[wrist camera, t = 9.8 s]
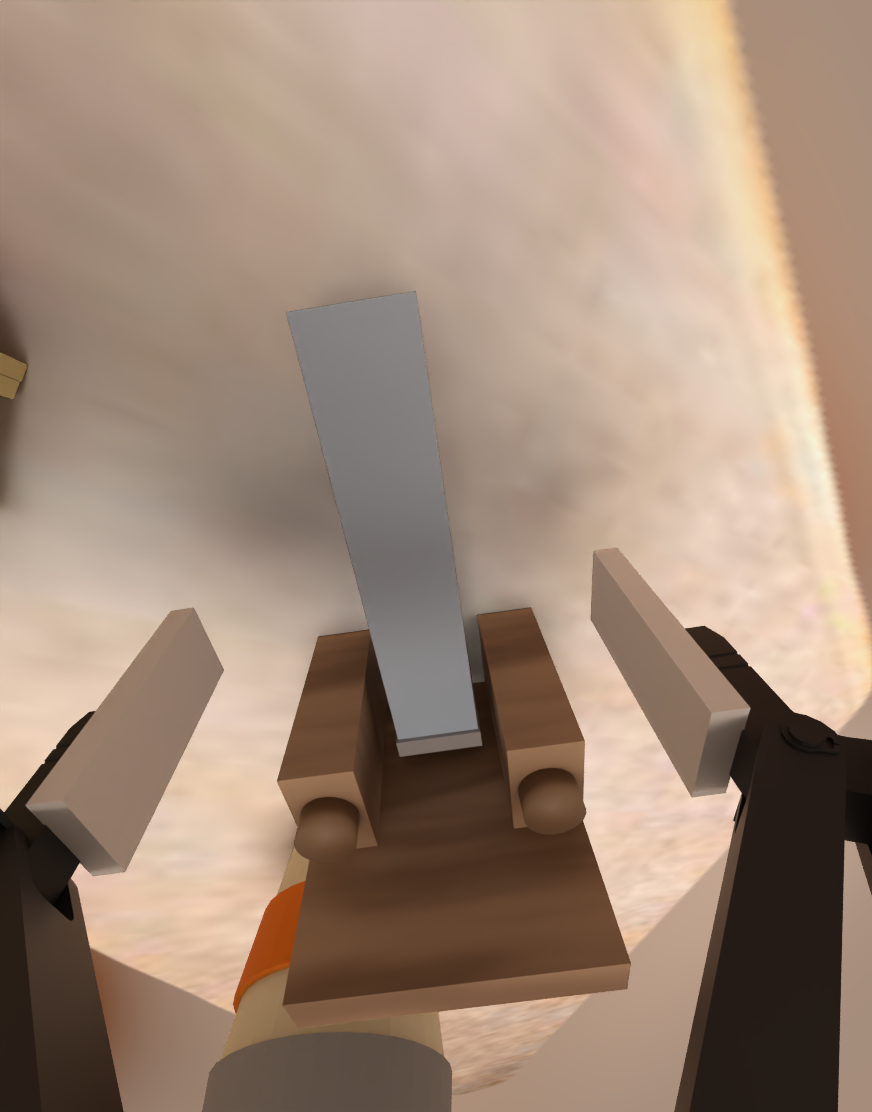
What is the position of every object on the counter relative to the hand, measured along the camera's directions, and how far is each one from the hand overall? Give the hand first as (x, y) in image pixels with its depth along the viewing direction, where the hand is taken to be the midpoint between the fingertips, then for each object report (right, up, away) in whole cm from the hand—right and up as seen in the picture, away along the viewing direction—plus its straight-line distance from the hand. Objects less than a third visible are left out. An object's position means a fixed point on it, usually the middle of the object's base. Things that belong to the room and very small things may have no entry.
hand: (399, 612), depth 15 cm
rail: (0, +3, +8) cm, 8 cm away
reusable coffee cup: (-5, -20, +20) cm, 28 cm away
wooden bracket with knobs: (+1, -4, +12) cm, 12 cm away
